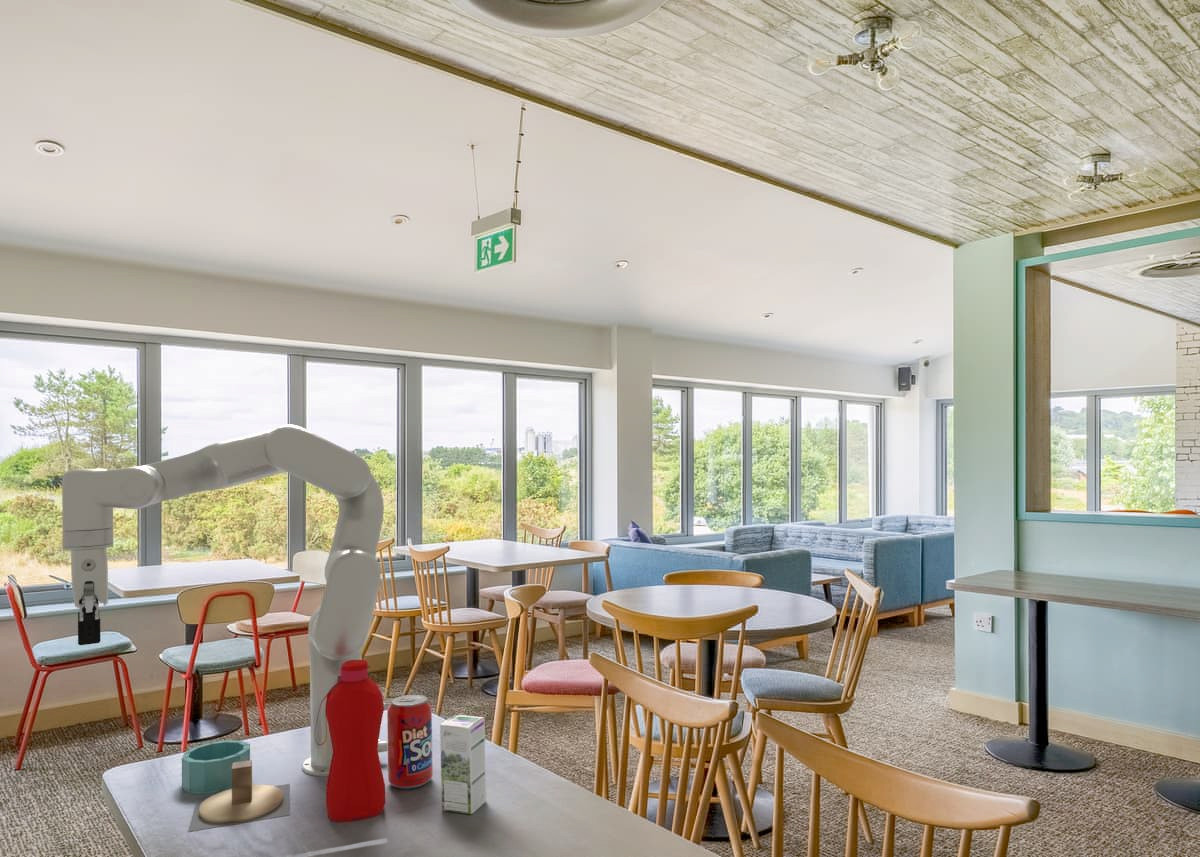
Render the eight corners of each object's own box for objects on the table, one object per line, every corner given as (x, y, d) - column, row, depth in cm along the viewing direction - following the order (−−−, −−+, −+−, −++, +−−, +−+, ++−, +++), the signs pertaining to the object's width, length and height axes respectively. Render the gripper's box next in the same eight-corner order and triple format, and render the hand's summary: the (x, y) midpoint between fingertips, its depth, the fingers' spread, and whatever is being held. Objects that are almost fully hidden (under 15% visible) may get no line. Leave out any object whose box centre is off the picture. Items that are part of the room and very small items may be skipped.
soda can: (395, 774, 152) (394, 693, 153) (437, 774, 152) (435, 692, 152) (382, 792, 144) (381, 706, 145) (426, 791, 144) (425, 705, 144)
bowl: (251, 768, 157) (251, 737, 157) (248, 790, 146) (248, 756, 146) (186, 778, 153) (186, 745, 153) (178, 801, 142) (178, 766, 142)
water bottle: (314, 808, 138) (312, 659, 139) (381, 797, 142) (379, 652, 143) (317, 831, 129) (315, 672, 130) (388, 818, 133) (386, 664, 134)
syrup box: (487, 801, 139) (486, 715, 140) (471, 816, 134) (469, 726, 134) (457, 797, 141) (456, 712, 142) (440, 812, 136) (438, 723, 136)
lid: (283, 785, 147) (283, 746, 147) (282, 814, 134) (282, 771, 135) (203, 797, 142) (203, 757, 142) (195, 829, 130) (195, 784, 130)
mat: (289, 787, 147) (289, 783, 147) (289, 818, 134) (289, 814, 134) (197, 801, 142) (197, 797, 142) (187, 835, 129) (187, 831, 129)
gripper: (115, 541, 137) (116, 644, 136) (111, 534, 151) (112, 627, 151) (61, 545, 133) (62, 651, 132) (63, 537, 147) (64, 633, 147)
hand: (89, 638), depth 141 cm, fingers open, 9 cm apart
